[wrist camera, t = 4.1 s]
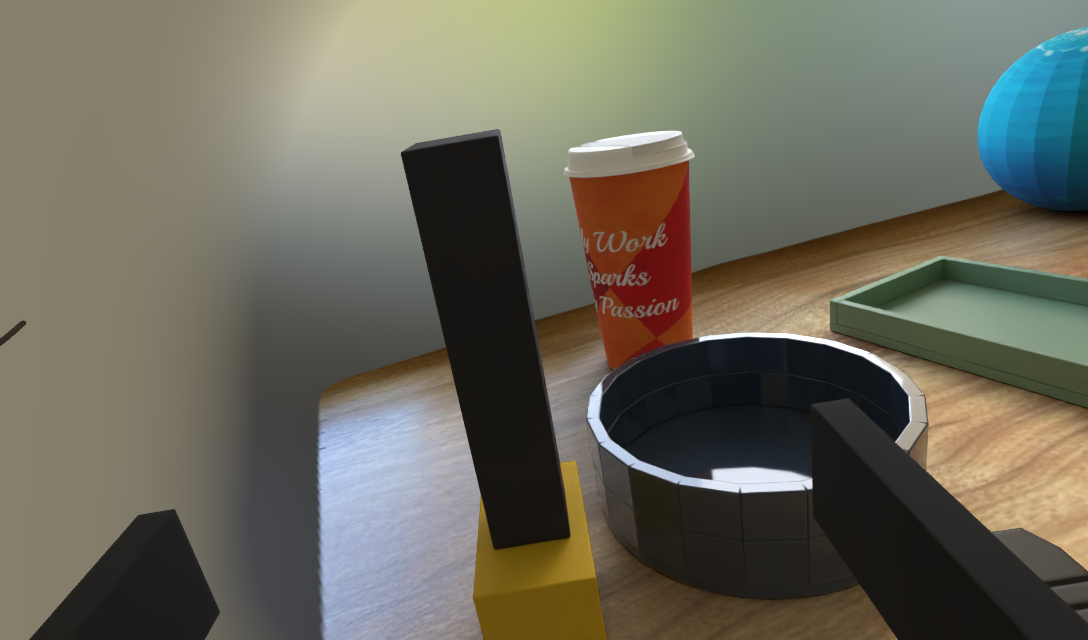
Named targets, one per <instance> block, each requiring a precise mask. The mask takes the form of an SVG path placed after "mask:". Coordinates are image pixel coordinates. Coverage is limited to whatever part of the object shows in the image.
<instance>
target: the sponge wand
mask: <svg viewBox="0 0 1088 640" xmlns="http://www.w3.org/2000/svg"><path fill="white" fill-rule="evenodd" d="M401 157H402V161H403V165H404V169H405V173H406V178H407V182H408V186H409V190H410V195H411V199H412V204H413V207H414V212H415V216H416V221H417V225H418V228H419V233H420V237H421V242H422V246H423V250H424V255H425V259H426V263H427V267H428V272H429V276H430V280H431V284H432V289H433V293H434V297H435V301H436V306H437V310H438V314H439V318H440V323H441V327H442V331H443V335H444V340H445V344H446V348H447V352H448V357H449V361H450V365H451V369H452V374H453V378H454V382H455V386H456V391H457V395H458V399H459V404H460V408H461V412H462V416H463V421H464V425H465V429H466V433H467V438H468V442H469V446H470V450H471V455H472V459H473V463H474V467H475V472H476V476H477V480H478V484H479V489H480V493H481V501H480V514H479V527H478V541H477V554H476V567H475V580H474V593H473V600H474V603H475V607H476V611H477V615H478V619H479V623H480V627H481V631H482V634H483V638H484V640H607V638H606V632H605V626H604V620H603V614H602V608H601V602H600V597H599V591H598V585H597V579H596V573H595V567H594V561H593V555H592V550H591V544H590V538H589V532H588V526H587V520H586V515H585V509H584V503H583V497H582V491H581V485H580V480H579V474H578V468H577V462H576V461H575V460H574V461H568V462H562V463H560V460H559V455H558V449H557V444H556V438H555V432H554V427H553V421H552V416H551V410H550V405H549V399H548V393H547V388H546V382H545V377H544V371H543V366H542V360H541V355H540V349H539V343H538V338H537V332H536V327H535V321H534V316H533V310H532V304H531V299H530V293H529V288H528V282H527V277H526V271H525V265H524V260H523V254H522V249H521V243H520V238H519V232H518V227H517V221H516V215H515V210H514V204H513V199H512V193H511V188H510V182H509V176H508V171H507V165H506V160H505V154H504V149H503V143H502V137H501V132H500V130H499V129H496V130H490V131H484V132H479V133H473V134H467V135H461V136H456V137H450V138H444V139H438V140H432V141H427V142H421V143H416V144H414V145H413V146H411V147H409V148H408V149H406V150H404V151H403V152H401Z"/></svg>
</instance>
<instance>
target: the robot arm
mask: <svg viewBox="0 0 1088 640" xmlns="http://www.w3.org/2000/svg"><path fill="white" fill-rule="evenodd" d="M24 325H26V321H21V322H19V323H18V324H17V325H16V326H15V327H14V328H12V329H11V330H10V331H9V332H8V333H7V334H5V335H4V336H3V337H2V338H0V346H1V345H2V344H4V343H5V342H6V341H7V340H9V339H10V338H11V337H12V336H13V335H15V334H16V333H17V332H18V331H19V330H20V329H21V328H22V327H23V326H24ZM811 444H812V502H813V517H814V519H815V520H816V522H817V523H818V525H819V526H820V528H821V529H822V530H823V532H824V533H825V535H826V536H827V538H828V539H829V541H830V542H831V543H832V545H833V546H834V548H835V549H836V551H837V552H838V554H839V555H840V557H841V558H842V559H843V561H844V562H845V564H846V565H847V567H848V568H849V570H850V571H851V572H852V574H853V575H854V577H855V578H856V580H857V581H858V583H859V584H860V585H861V587H862V588H863V590H864V591H865V593H866V594H867V596H868V597H869V598H870V600H871V601H872V603H873V604H874V606H875V607H876V609H877V610H878V611H879V613H880V614H881V616H882V617H883V619H884V620H885V622H886V623H887V625H888V626H889V627H890V629H891V630H892V632H893V633H894V635H895V636H896V638H897V639H898V640H1088V571H1087V570H1086V569H1085V568H1084V567H1082V566H1081V565H1080V564H1079V563H1078V562H1076V561H1075V560H1074V559H1073V558H1072V557H1071V556H1069V555H1068V554H1067V553H1066V552H1065V551H1063V550H1062V549H1061V548H1060V547H1058V546H1056V545H1054V544H1052V543H1050V542H1048V541H1046V540H1044V539H1042V538H1040V537H1038V536H1036V535H1034V534H1032V533H1030V532H1028V531H1026V530H1024V529H1022V528H1016V529H1009V530H1003V531H997V532H990V531H989V530H988V529H987V528H986V527H985V526H984V525H983V524H982V523H981V522H980V521H979V520H978V519H976V518H975V517H974V516H973V515H972V514H971V513H970V512H969V511H968V510H967V509H966V508H965V507H964V506H963V505H962V504H961V503H959V502H958V501H957V500H956V499H955V498H954V497H953V496H952V495H951V494H950V493H949V492H948V491H947V490H946V489H945V488H943V487H942V486H941V485H940V484H939V483H938V482H937V481H936V480H935V479H934V478H933V477H932V476H931V475H930V474H929V473H927V472H926V471H925V470H924V469H923V468H922V467H921V466H920V465H919V464H918V463H917V462H916V461H915V460H914V459H913V458H912V457H910V456H909V455H908V454H907V453H906V452H905V451H904V450H903V449H902V448H901V447H900V446H899V445H898V444H897V443H896V442H894V441H893V440H892V439H891V438H890V437H889V436H888V435H887V434H886V433H885V432H884V431H883V430H882V429H881V428H880V427H878V426H877V425H876V424H875V423H874V422H873V421H872V420H871V419H870V418H869V417H868V416H867V415H866V414H865V413H864V412H862V411H861V410H860V409H859V408H858V407H857V406H856V405H855V404H854V403H853V402H852V401H851V400H850V399H849V398H848V399H842V400H836V401H830V402H824V403H818V404H812V405H811ZM219 613H220V611H219V609H218V606H217V604H216V602H215V600H214V597H213V595H212V593H211V591H210V588H209V586H208V584H207V581H206V579H205V577H204V575H203V572H202V570H201V568H200V566H199V563H198V561H197V558H196V557H195V554H194V552H193V549H192V547H191V545H190V543H189V540H188V538H187V536H186V534H185V531H184V529H183V527H182V524H181V522H180V520H179V518H178V515H177V513H176V511H175V509H172V510H166V511H161V512H154V513H148V514H143V515H138V516H137V517H136V518H135V520H134V521H133V522H132V523H131V524H130V525H129V526H128V527H127V529H126V530H125V531H124V532H123V533H122V534H121V536H120V537H119V538H118V539H117V540H116V541H115V542H114V543H113V545H112V546H111V547H110V548H109V549H108V550H107V551H106V553H105V554H104V555H103V556H102V557H101V558H100V559H99V561H98V562H97V563H96V564H95V565H94V566H93V568H92V569H91V570H90V571H89V572H88V573H87V574H86V575H85V577H84V578H83V579H82V580H81V581H80V582H79V583H78V585H77V586H76V587H75V588H74V589H73V590H72V591H71V593H70V594H69V595H68V596H67V597H66V598H65V599H64V601H63V602H62V603H61V604H60V605H59V606H58V607H57V609H56V610H55V611H54V612H53V613H52V614H51V616H50V617H49V618H48V619H47V620H46V621H45V622H44V623H43V625H42V626H41V627H40V628H39V629H38V630H37V631H36V633H35V634H34V635H33V636H32V637H31V638H30V639H29V640H205V638H206V636H207V635H208V633H209V631H210V629H211V627H212V626H213V624H214V622H215V620H216V618H217V617H218V615H219Z"/></svg>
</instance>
